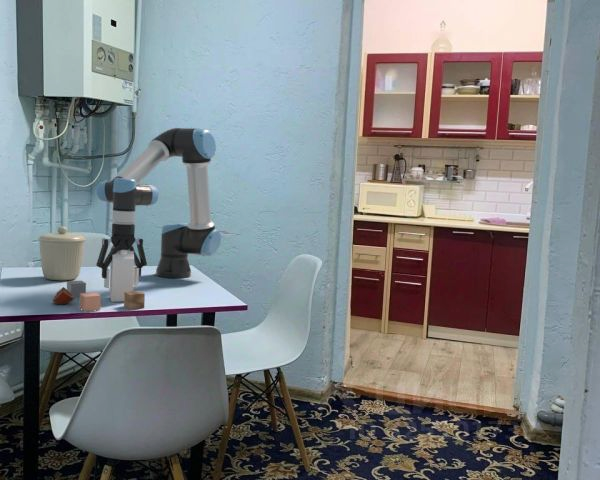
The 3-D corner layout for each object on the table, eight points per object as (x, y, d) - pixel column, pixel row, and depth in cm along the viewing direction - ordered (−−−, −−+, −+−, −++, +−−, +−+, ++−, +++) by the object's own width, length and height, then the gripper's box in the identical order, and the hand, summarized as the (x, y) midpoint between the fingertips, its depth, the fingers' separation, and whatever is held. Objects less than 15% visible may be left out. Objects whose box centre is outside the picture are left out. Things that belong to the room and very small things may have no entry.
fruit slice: (53, 300, 191) (53, 286, 191) (74, 300, 193) (75, 286, 193) (51, 306, 183) (52, 291, 183) (74, 306, 186) (74, 291, 185)
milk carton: (109, 297, 201) (111, 244, 199) (130, 297, 204) (132, 244, 202) (111, 302, 195) (113, 247, 193) (132, 301, 198) (134, 247, 195)
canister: (93, 276, 237) (94, 226, 235) (71, 284, 219) (73, 230, 217) (51, 273, 238) (52, 223, 236) (27, 280, 221) (28, 226, 218)
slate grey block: (81, 294, 204) (81, 280, 203) (85, 297, 200) (85, 283, 200) (66, 295, 201) (67, 281, 200) (70, 298, 197) (71, 283, 197)
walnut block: (138, 305, 193) (138, 290, 193) (144, 308, 190) (144, 293, 189) (124, 306, 190) (124, 291, 190) (129, 309, 186) (130, 294, 186)
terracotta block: (94, 307, 186) (95, 292, 186) (100, 310, 182) (100, 295, 182) (79, 308, 183) (79, 293, 183) (84, 312, 179) (84, 296, 179)
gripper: (149, 222, 206) (147, 282, 209) (87, 221, 192) (85, 286, 195) (158, 224, 200) (155, 286, 203) (94, 224, 187) (92, 290, 189)
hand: (121, 286), depth 199 cm, fingers open, 10 cm apart
